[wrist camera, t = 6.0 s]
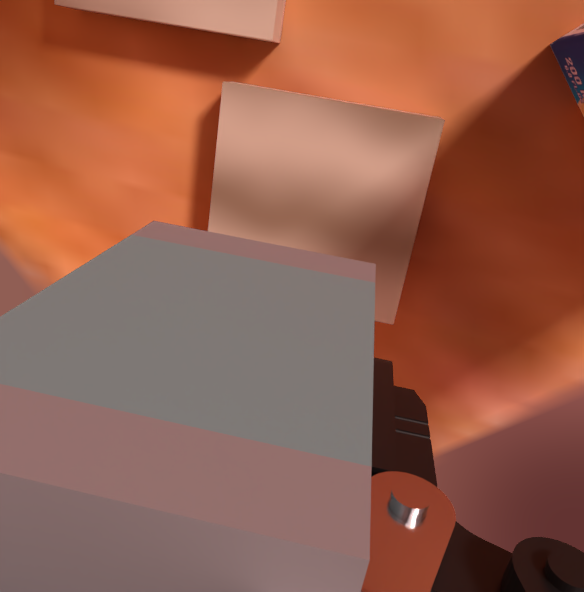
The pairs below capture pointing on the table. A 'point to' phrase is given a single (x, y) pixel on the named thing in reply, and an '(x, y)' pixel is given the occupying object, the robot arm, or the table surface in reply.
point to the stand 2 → (324, 178)
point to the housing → (189, 421)
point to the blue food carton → (572, 61)
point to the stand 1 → (198, 14)
